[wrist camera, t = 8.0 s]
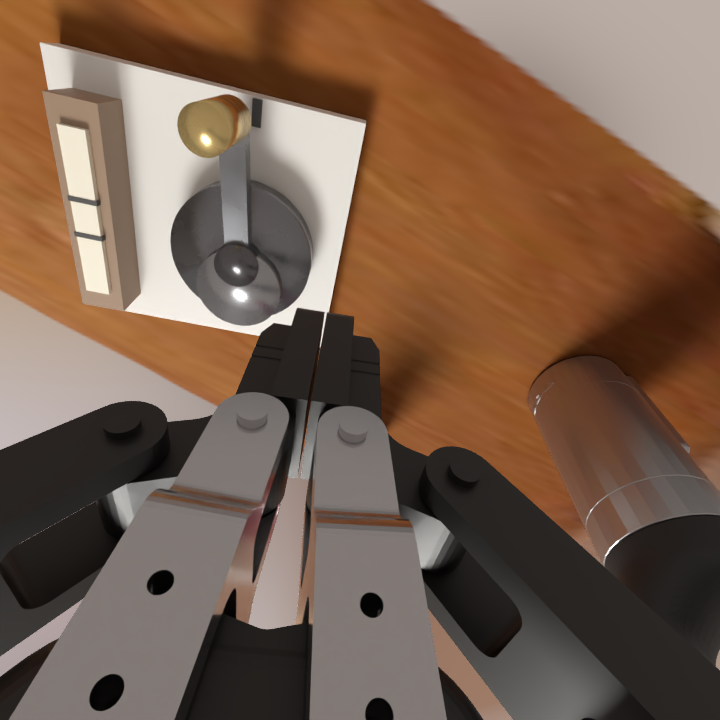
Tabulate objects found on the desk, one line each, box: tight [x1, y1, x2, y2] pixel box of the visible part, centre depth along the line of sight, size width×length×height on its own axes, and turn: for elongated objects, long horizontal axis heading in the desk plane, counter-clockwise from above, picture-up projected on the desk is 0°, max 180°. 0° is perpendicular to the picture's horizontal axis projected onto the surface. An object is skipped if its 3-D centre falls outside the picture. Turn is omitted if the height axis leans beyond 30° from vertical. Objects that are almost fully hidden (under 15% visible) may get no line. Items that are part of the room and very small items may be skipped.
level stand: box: [40, 42, 366, 347], centre depth 31 cm, size 20×18×6 cm
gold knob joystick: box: [170, 94, 313, 326], centre depth 27 cm, size 15×10×8 cm, turn 173°
